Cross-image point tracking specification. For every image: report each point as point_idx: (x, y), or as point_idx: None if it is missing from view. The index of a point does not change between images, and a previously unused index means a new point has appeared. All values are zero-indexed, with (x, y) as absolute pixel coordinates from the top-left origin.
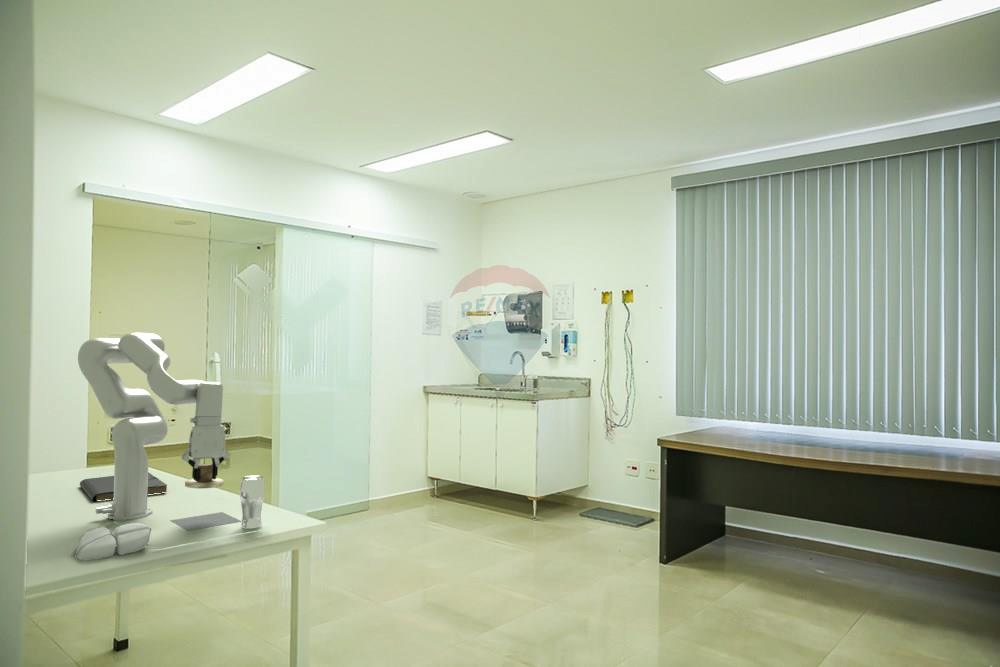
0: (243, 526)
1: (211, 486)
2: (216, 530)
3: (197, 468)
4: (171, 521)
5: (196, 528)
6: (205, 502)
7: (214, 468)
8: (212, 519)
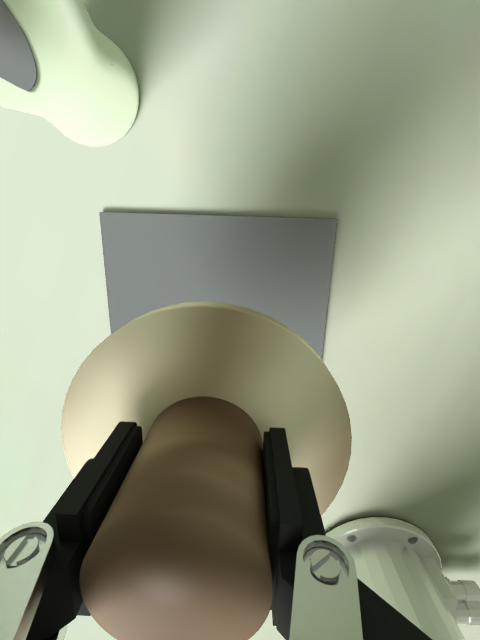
0: (130, 70)
1: (203, 304)
2: (236, 158)
3: (302, 533)
4: None
5: (296, 231)
6: None
7: (91, 499)
8: None
